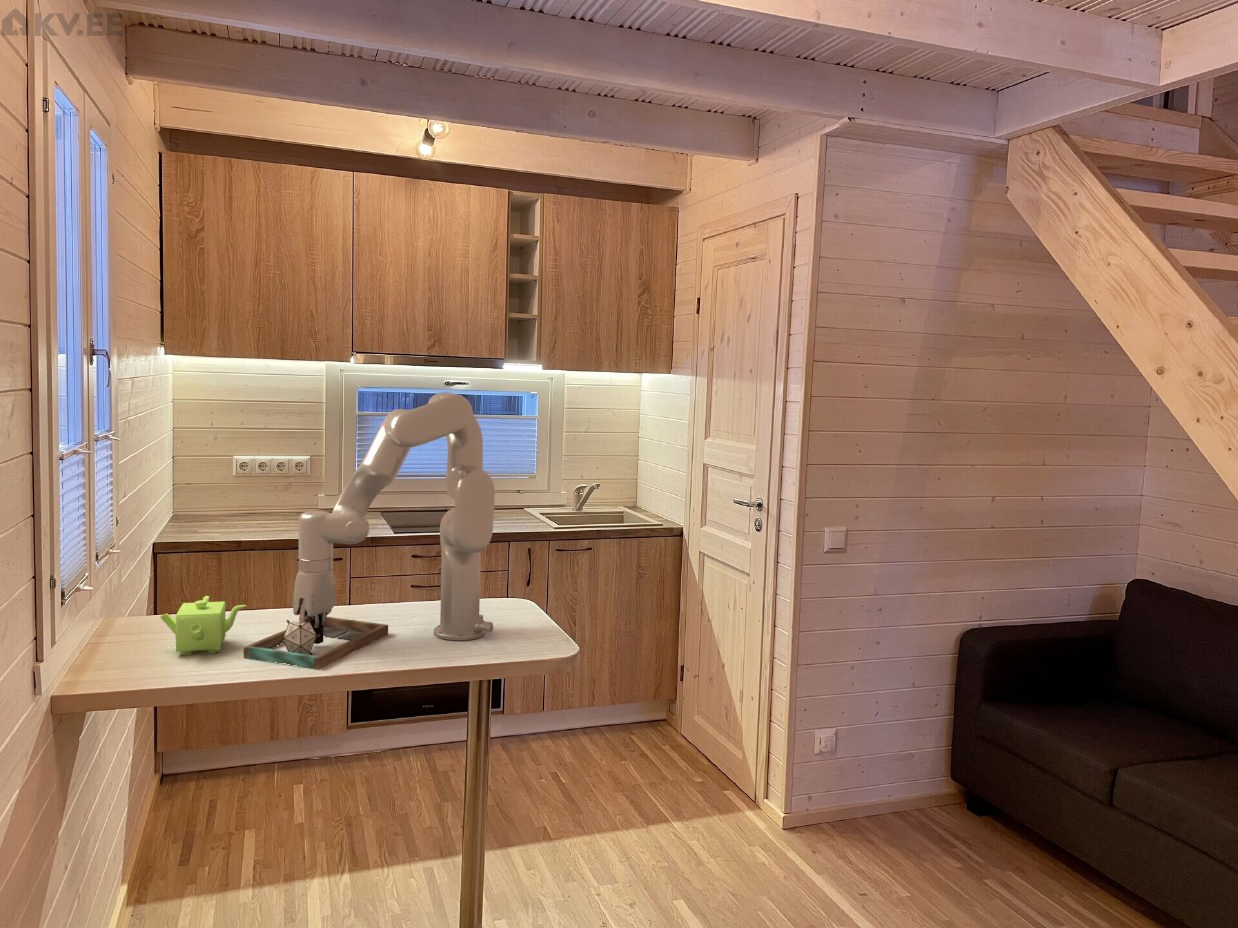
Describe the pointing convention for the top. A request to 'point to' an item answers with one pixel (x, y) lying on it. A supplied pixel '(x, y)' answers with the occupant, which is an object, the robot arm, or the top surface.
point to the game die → (299, 637)
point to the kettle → (200, 625)
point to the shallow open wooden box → (333, 627)
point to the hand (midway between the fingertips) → (315, 642)
